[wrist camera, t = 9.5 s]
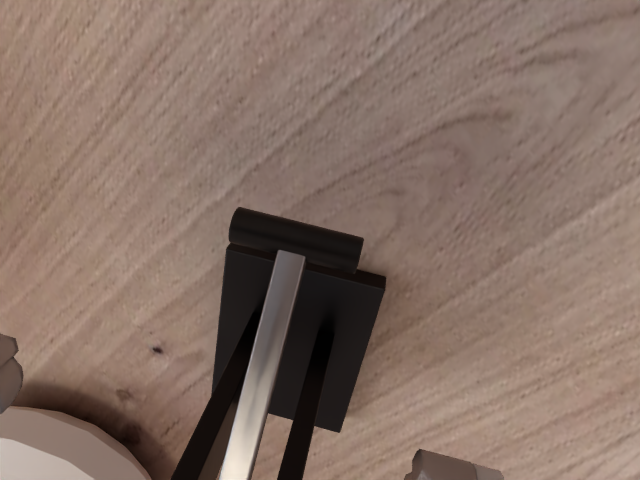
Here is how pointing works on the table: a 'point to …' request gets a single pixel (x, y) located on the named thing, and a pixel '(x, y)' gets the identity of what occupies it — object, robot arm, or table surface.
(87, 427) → the candle holder
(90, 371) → the table surface
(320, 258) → the lever
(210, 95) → the table surface
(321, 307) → the bracket
